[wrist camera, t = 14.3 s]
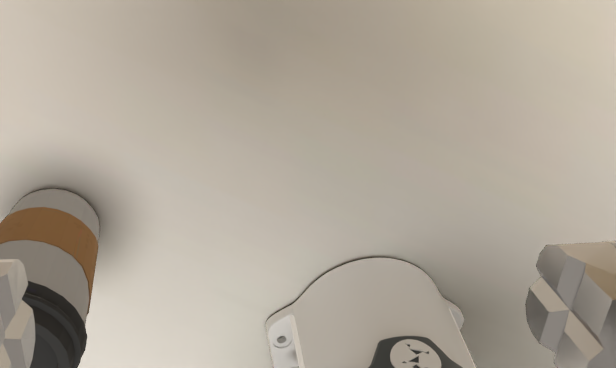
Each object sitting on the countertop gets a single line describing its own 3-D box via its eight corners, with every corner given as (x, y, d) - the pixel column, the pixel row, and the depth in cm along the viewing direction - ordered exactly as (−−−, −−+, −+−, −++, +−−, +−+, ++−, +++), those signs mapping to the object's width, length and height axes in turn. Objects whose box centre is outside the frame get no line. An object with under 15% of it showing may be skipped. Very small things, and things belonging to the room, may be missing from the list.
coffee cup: (10, 159, 41) (-77, 288, 28) (127, 191, 44) (97, 323, 31) (-12, 252, 44) (-100, 407, 31) (98, 277, 47) (60, 429, 34)
